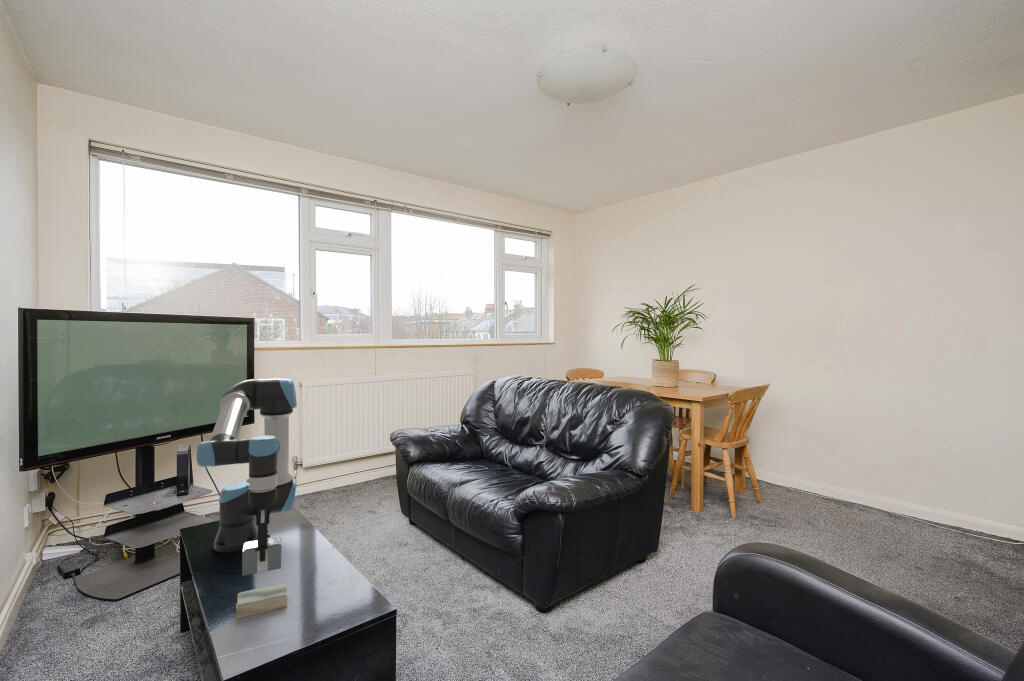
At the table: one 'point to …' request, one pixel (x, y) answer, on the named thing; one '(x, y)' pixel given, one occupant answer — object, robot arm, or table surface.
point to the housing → (251, 555)
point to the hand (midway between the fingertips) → (262, 566)
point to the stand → (261, 600)
